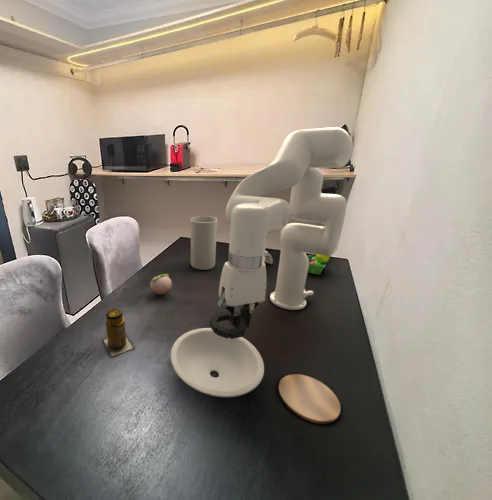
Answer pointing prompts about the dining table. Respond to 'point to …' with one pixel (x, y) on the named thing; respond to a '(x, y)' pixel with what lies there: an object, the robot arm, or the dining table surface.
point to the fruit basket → (317, 263)
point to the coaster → (309, 398)
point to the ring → (224, 331)
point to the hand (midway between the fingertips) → (239, 324)
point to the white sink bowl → (217, 363)
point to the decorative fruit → (161, 284)
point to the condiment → (116, 333)
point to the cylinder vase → (203, 242)
